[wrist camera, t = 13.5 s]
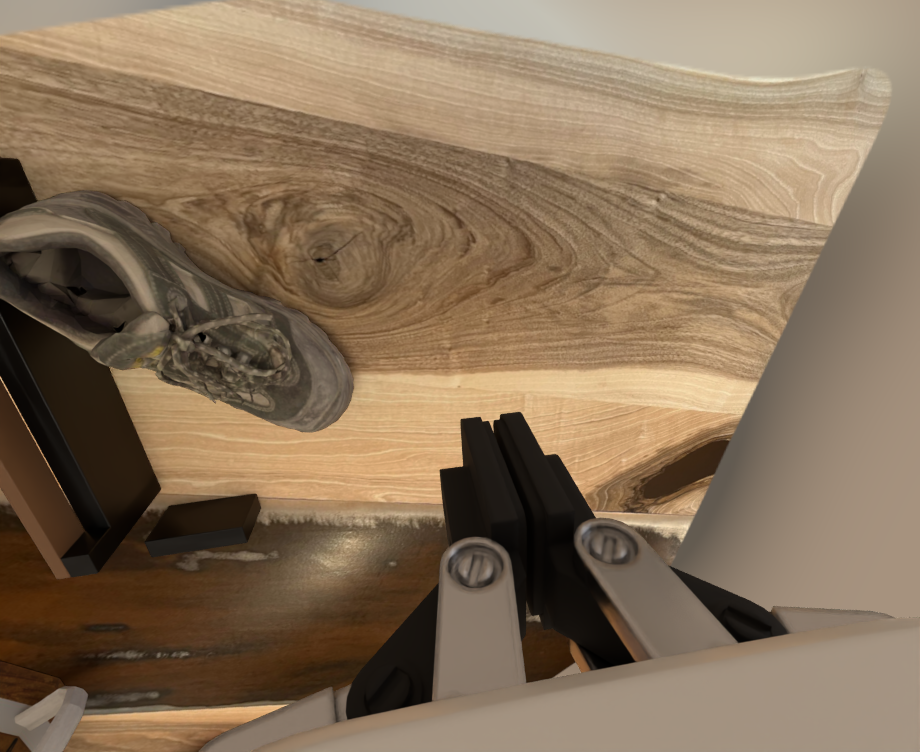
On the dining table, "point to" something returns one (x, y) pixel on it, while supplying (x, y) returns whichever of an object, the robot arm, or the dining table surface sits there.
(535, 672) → the dining table surface
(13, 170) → the shoe rack
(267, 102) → the dining table surface
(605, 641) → the robot arm
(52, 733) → the mug
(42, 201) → the hiking shoe
